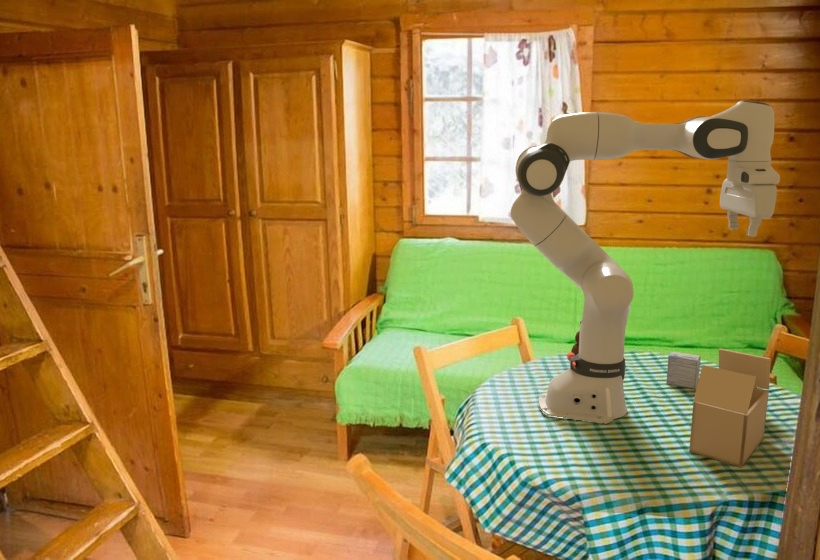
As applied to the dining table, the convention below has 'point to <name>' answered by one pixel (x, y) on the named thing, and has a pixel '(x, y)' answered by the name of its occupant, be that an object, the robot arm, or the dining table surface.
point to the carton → (729, 430)
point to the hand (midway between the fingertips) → (742, 232)
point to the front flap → (725, 389)
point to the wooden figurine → (576, 347)
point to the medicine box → (683, 369)
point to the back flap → (746, 365)
